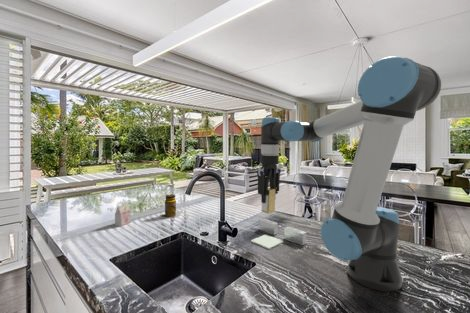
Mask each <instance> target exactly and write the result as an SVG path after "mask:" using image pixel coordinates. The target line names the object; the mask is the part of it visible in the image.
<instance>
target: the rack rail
mask: <svg viewBox="0 0 470 313" xmlns="http://www.w3.org/2000/svg"><path fill="white" fill-rule="evenodd" d="M258 221H259V224H258V228H259V231H263V232H265V233H268V234H271V235H273V236H276V235H278V234H279V223H278V222H276V221H273V220H270V219H267V218H261V219H259V220H258ZM283 230H284V236H283V239H284V240H285V241H288V242H291V243H295V244H298V245H300V246H305V245H306V244H307V233H308V232H307V231H304V230H301V229H298V228H295V227H291V226H286V227H284V229H283Z"/></svg>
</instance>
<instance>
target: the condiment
mask: <svg viewBox="0 0 470 313" xmlns="http://www.w3.org/2000/svg"><path fill="white" fill-rule="evenodd" d="M176 212H177V199H176V194H166V195H165V200H164V214H160V215H159V217H161V218H162V219H170V218H175V217H177V218H178V215H177V214H176Z"/></svg>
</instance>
